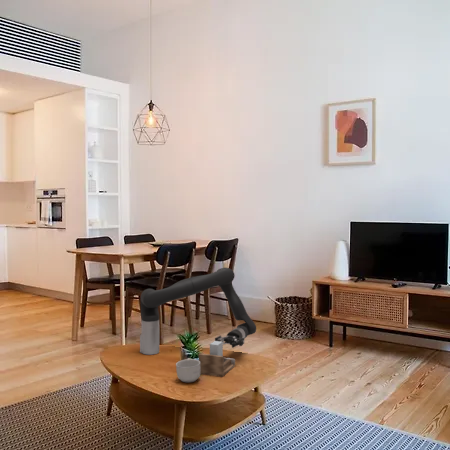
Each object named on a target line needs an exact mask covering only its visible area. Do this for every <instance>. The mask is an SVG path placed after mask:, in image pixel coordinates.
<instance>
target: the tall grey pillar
mask: <svg viewBox="0 0 450 450" xmlns="http://www.w3.org/2000/svg"><path fill="white" fill-rule="evenodd" d="M223 346H224V344H223V342H221V341H215V340H214V341H213V342H210V344H209V354H210V355H218V356H224V355H223V352H224V351H223V350H224V347H223Z"/></svg>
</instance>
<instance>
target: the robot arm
mask: <svg viewBox="0 0 450 450" xmlns="http://www.w3.org/2000/svg"><path fill="white" fill-rule="evenodd" d="M234 279H235V272H234V270H233V269H231V268H229V267H221V268H218V269H217V270H216V271H214V272H211V273H208V274H204V275H203V274H202V275H196V276H191V277H188V278H184V279H181V280H179V281H177V282H175V283H174V284H171V285H170V286H168V287H165V288H160V289H156V290H155V289H153V288H146V289H144V290H143V291H142V292H141V294H140V316H141V334H139V353H141V354H143V355H156V354H159V353H160V312H159V306H161V305H165V304H166V303H168V302H171V301H175V300H180V299H183V298H187V297H190V296H193V295H198V294H199V293H201V292H202V293H203V292H204V291H207V290H209V289H211V288H215V287H220V289H221V290H222V292H223V294H224V296H225V299H226V301H227V303H228V305H229V307H230V309H231V312H232V314H233V317H234V318H235V320H236V321H243V323H240V324H238V325H237V326H236V328H233V329H232V330H230V331H229V332H228V333H226V335H225V336H222V335H218V336H216V337H214V341H220V342H223V345H226V344H227V345H230V346H231V348H233V349H234V348H236V347H238V346H239V347H242V346H243V345H244V344H245V339H246V338H247V337H248V336H250V335H254V334H255V333H257V326H256V323H255V322H254V321H253V320H252V317H250V316H249V314H248V313H247V311H246V308H245V305H244V303H243V302H242V299H241V298H240V297H239V295H238V294H237V292H236V290H235V288H234V285H233V283H232V282H233V281H234Z"/></svg>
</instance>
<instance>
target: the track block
mask: <svg viewBox="0 0 450 450" xmlns="http://www.w3.org/2000/svg"><path fill="white" fill-rule="evenodd" d="M198 360H199V361H200V375H208V376H212V377H213V376H215V377H222V378H224V376H226V375H227V374H228V373H229V372H230V371H231V370H233V368H235V367H236V358H230V357H225V356H224V355H223V356H218V355H210V353H198Z"/></svg>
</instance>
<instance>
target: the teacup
mask: <svg viewBox="0 0 450 450" xmlns="http://www.w3.org/2000/svg"><path fill="white" fill-rule="evenodd" d="M175 367H176V369H175V370H176V376H177V378H178V380H180V381H181V382H183V383H194V382H196V381H197V380H198V379H199V377H200V376H201V374H200V361H199V359H195V358H193V359H192V358H189V357H188V358H186V359H182V360H179V361H177V362H176V363H175Z"/></svg>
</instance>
